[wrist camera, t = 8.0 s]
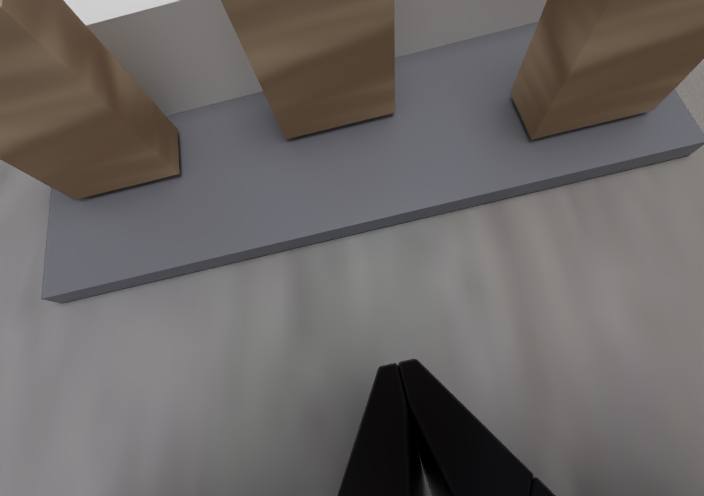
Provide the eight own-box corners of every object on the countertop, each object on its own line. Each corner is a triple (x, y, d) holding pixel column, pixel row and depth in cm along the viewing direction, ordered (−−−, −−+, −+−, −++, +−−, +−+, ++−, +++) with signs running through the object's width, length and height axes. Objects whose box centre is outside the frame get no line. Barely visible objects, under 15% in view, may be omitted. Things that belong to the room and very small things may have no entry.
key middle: (394, 112, 16) (393, -111, 9) (285, 139, 17) (194, -57, 9) (382, 69, 17) (370, -167, 10) (278, 96, 17) (189, -116, 10)
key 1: (653, 110, 15) (910, -157, 8) (531, 139, 15) (662, -91, 8) (625, 64, 16) (830, -216, 8) (510, 92, 16) (609, -157, 9)
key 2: (179, 174, 17) (1, 7, 9) (74, 199, 17) (-185, 57, 9) (177, 128, 18) (12, -58, 10) (77, 154, 18) (-159, -10, 10)
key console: (689, 155, 16) (877, 12, 10) (61, 303, 17) (-133, 260, 11) (531, -101, 22) (584, -286, 16) (80, 19, 23) (-35, -111, 17)
